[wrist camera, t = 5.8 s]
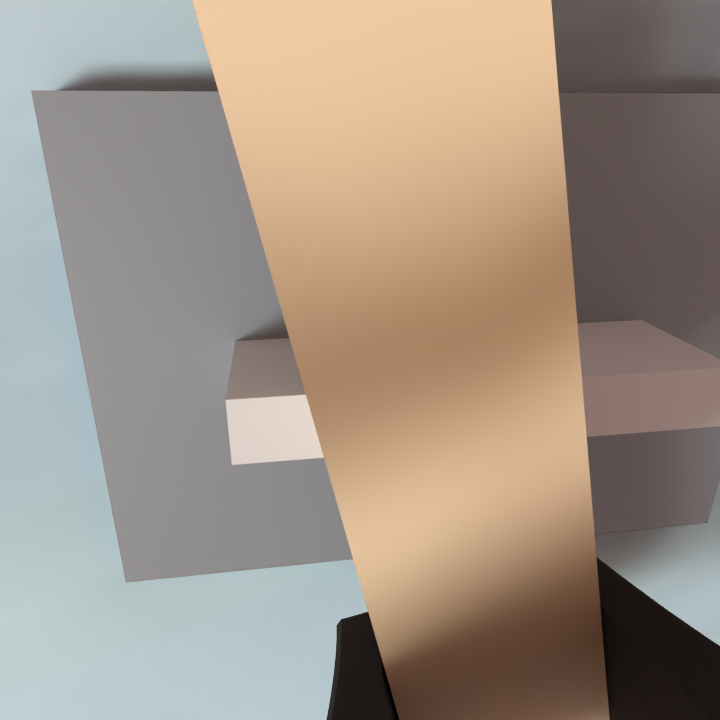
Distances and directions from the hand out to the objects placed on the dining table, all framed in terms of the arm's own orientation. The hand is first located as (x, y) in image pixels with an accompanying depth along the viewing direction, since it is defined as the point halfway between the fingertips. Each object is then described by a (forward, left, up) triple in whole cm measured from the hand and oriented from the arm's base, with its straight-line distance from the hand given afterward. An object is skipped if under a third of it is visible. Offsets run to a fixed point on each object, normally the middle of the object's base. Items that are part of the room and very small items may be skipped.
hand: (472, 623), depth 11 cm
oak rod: (0, 0, -3) cm, 3 cm away
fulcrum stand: (-2, -3, -8) cm, 9 cm away
